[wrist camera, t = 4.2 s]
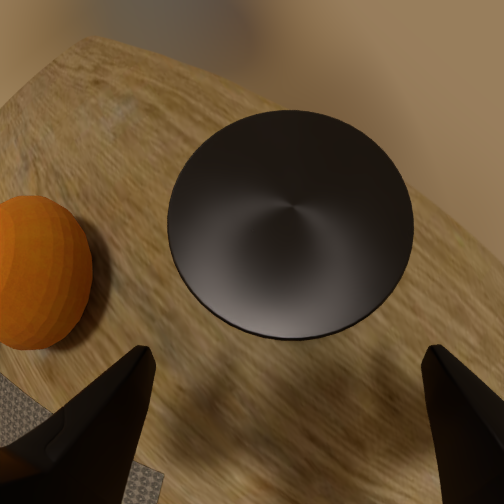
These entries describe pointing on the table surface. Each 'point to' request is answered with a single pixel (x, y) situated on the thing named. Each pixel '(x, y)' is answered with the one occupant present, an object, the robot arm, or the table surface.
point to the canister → (290, 225)
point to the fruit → (41, 272)
